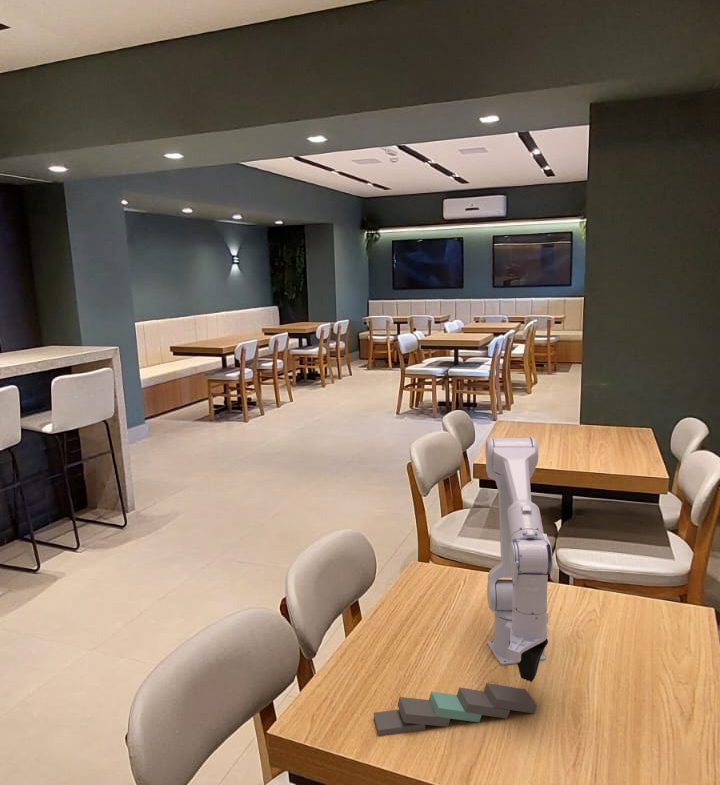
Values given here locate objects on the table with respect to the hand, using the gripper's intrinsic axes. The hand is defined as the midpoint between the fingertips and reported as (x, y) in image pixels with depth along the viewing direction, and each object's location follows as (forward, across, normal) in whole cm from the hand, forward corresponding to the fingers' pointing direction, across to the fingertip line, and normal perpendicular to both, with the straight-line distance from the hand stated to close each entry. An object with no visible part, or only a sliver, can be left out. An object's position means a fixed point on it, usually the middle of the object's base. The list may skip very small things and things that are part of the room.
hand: (527, 678), depth 107 cm
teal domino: (+5, +7, -7) cm, 11 cm away
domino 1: (+5, +14, -14) cm, 20 cm away
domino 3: (+5, +3, -3) cm, 7 cm away
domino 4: (+5, 0, 0) cm, 5 cm away
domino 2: (+5, +11, -11) cm, 16 cm away
